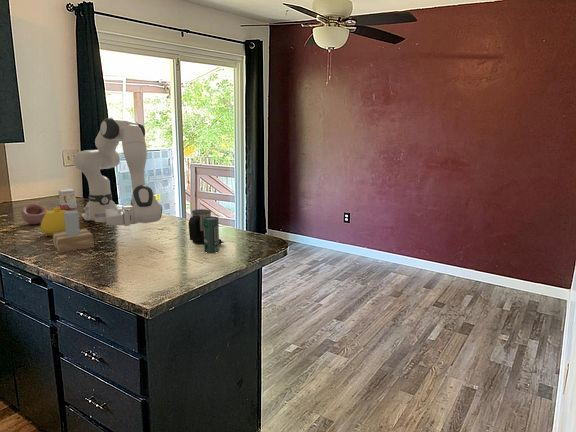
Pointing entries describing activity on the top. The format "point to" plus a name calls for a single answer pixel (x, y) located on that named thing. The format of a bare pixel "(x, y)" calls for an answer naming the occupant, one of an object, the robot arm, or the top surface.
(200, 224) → the milk frother
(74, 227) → the gray block
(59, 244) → the maple block
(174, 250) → the top surface
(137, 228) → the top surface
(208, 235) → the can
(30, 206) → the mortar and pestle
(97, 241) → the top surface
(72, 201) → the ink box
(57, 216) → the teapot
